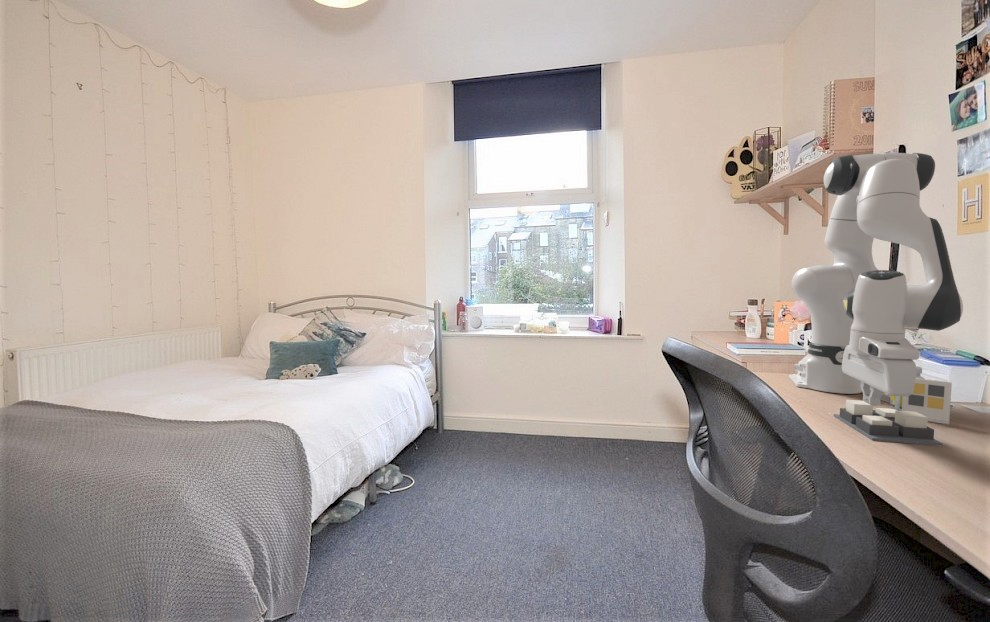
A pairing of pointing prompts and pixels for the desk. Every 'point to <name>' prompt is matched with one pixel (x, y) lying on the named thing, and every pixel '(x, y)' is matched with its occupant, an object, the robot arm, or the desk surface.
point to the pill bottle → (897, 400)
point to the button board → (888, 430)
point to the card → (930, 400)
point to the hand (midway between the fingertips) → (871, 403)
